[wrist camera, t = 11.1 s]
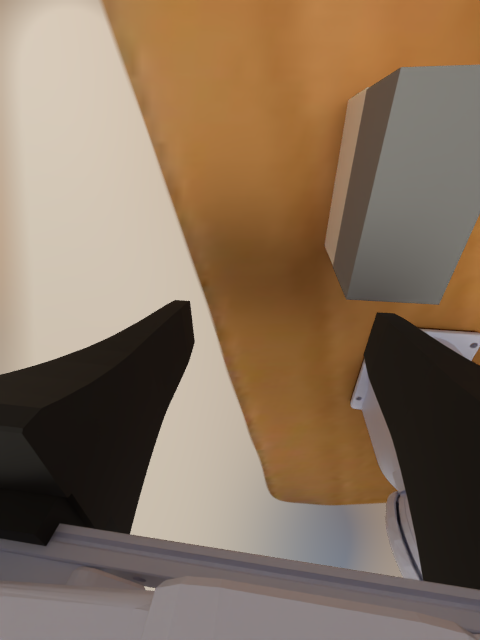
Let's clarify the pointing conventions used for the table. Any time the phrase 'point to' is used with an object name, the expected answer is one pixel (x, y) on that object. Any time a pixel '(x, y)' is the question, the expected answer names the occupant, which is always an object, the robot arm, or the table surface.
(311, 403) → the table surface
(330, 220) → the off-white brick
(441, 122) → the charcoal brick
